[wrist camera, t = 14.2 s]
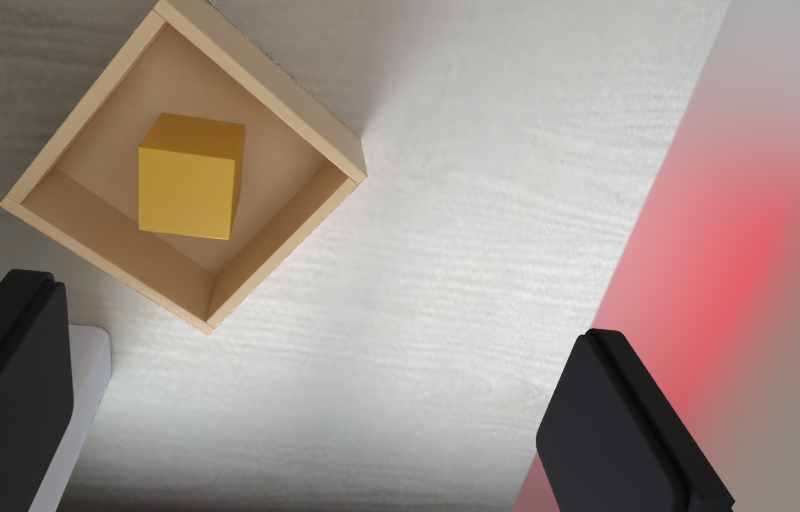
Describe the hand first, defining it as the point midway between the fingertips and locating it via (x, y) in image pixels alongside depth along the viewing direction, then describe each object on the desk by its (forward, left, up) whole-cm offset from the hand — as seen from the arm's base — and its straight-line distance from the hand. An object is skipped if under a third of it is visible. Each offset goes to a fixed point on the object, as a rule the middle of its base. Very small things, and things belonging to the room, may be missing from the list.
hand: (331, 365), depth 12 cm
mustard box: (+8, +4, -26) cm, 27 cm away
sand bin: (+8, +4, -27) cm, 28 cm away
